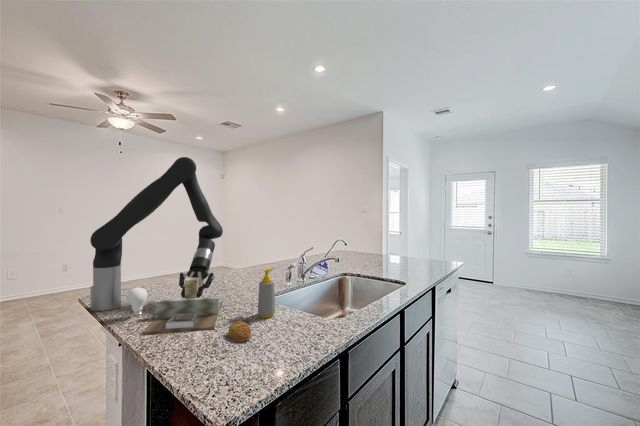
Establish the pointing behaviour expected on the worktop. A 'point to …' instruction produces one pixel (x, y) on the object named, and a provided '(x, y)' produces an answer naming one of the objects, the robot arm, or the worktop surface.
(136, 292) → the light bulb
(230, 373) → the worktop surface
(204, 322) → the door mockup
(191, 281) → the block
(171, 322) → the keeper socket
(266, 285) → the soap bottle
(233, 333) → the pastry
